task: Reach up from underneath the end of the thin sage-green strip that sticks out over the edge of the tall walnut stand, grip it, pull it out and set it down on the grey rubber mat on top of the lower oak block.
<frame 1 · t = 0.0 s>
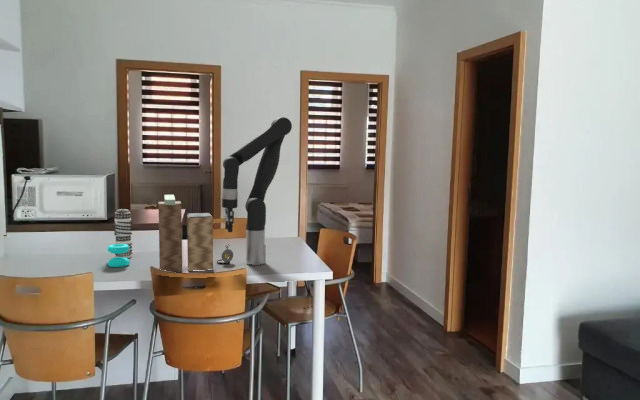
hand: (228, 230, 245), 17 cm above the table, tool pointing down, fingers open, 8 cm apart
pocket watch: (224, 263, 251), on the table
oak block: (200, 268, 239), on the table
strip: (169, 202, 235), point 32 cm above the table, touching walnut stand
walnut stand: (170, 269, 236), on the table
donuts: (118, 265, 243), on the table
decorative candle: (123, 257, 262), on the table
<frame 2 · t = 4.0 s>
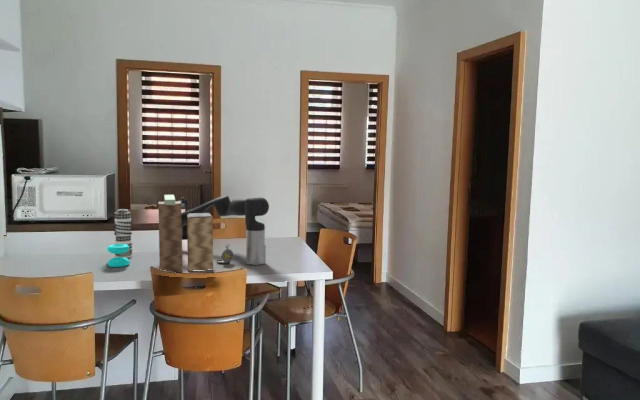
hand: (174, 198, 259), 31 cm above the table, tool pointing upward, fingers open, 8 cm apart
nothing on the table moved.
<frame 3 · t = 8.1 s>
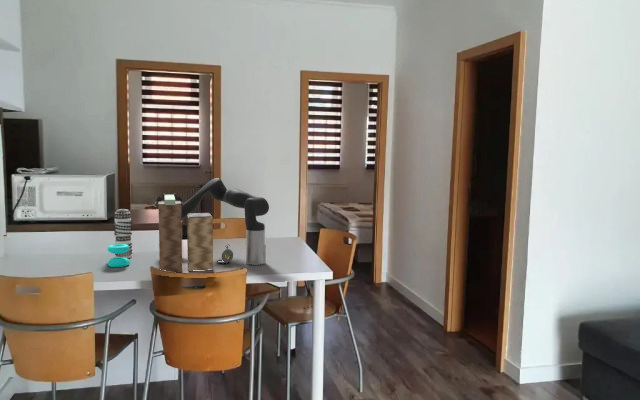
hand: (169, 195, 241), 35 cm above the table, tool pointing upward, fingers closed on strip, 4 cm apart
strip: (169, 202, 235), point 32 cm above the table, touching gripper, walnut stand
everything else where it was.
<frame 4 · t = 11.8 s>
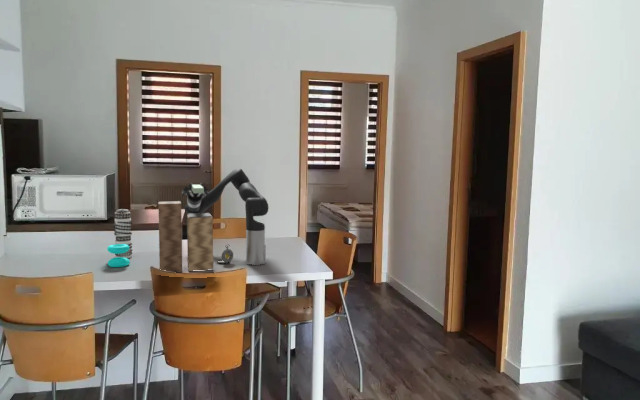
hand: (196, 185, 253), 39 cm above the table, tool pointing upward, fingers closed on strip, 4 cm apart
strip: (197, 191, 246), point 36 cm above the table, touching gripper
everything else where it was.
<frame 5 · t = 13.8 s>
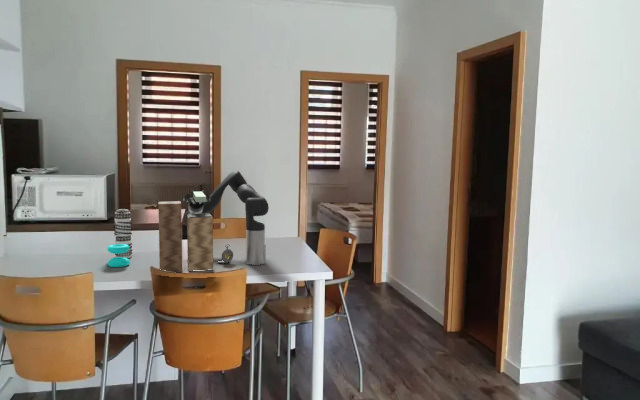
hand: (198, 192, 244), 36 cm above the table, tool pointing upward, fingers closed on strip, 4 cm apart
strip: (199, 199, 237), point 33 cm above the table, touching gripper
everything else where it was.
when the fingers open (29 cm above the table, at t = 15.6 s): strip stays where it is, resting on oak block.
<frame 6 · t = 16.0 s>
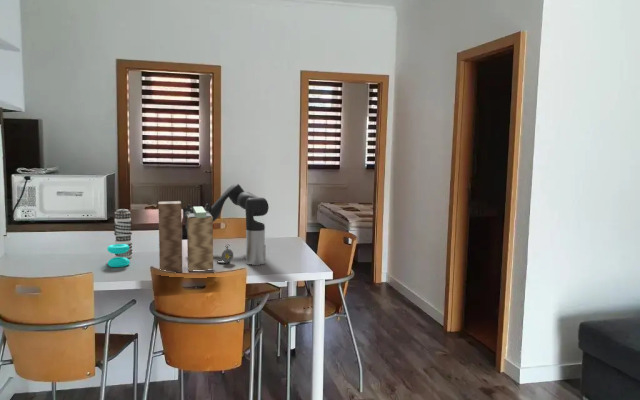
hand: (198, 205, 245), 29 cm above the table, tool pointing upward, fingers open, 8 cm apart
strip: (199, 214, 238), point 26 cm above the table, touching oak block
everything else where it was.
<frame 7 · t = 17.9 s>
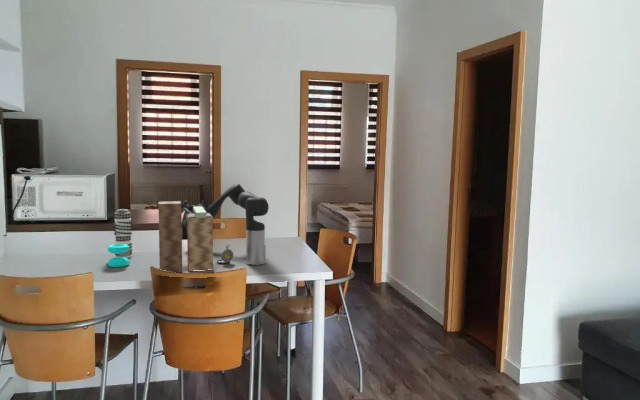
hand: (194, 202, 257), 29 cm above the table, tool pointing upward, fingers open, 8 cm apart
nothing on the table moved.
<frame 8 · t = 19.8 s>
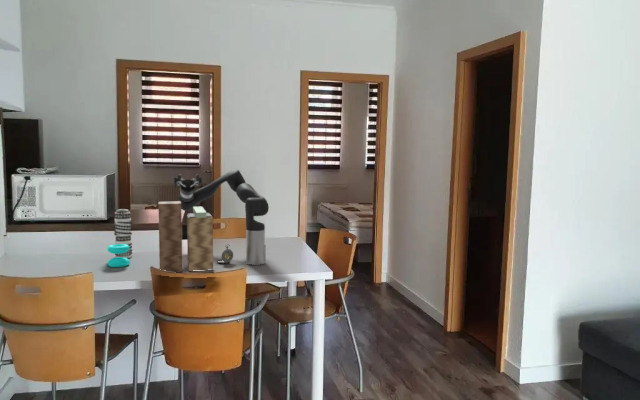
hand: (188, 176, 259), 43 cm above the table, tool pointing upward, fingers open, 8 cm apart
nothing on the table moved.
at the end: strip inside the target area on the oak block (0.6 cm from its centre), point 26.0 cm above the oak block's base; the gripper is holding nothing; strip touching oak block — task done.
